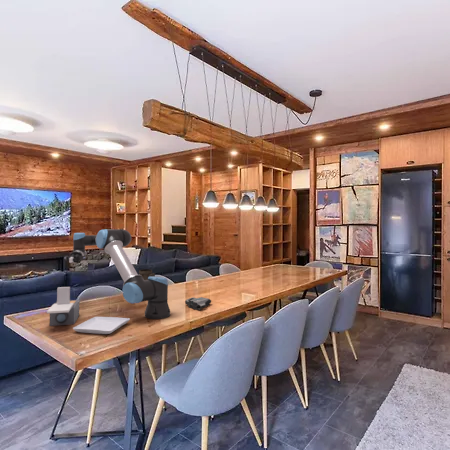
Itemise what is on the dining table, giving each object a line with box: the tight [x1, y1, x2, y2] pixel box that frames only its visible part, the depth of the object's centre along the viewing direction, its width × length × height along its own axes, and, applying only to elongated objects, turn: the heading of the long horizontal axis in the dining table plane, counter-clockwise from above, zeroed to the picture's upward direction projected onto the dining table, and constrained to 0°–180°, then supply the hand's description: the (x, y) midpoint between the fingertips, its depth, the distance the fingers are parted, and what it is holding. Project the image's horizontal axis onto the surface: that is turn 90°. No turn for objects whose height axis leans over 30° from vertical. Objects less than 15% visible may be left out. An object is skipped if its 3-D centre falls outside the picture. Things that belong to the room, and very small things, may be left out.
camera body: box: [49, 299, 80, 327], centre depth 181 cm, size 20×12×9 cm, turn 16°
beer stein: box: [138, 268, 156, 280], centre depth 245 cm, size 15×11×20 cm
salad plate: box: [72, 316, 131, 335], centre depth 169 cm, size 21×21×3 cm
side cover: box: [46, 286, 74, 314], centre depth 171 cm, size 16×10×10 cm, turn 16°
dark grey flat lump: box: [184, 296, 212, 311], centre depth 216 cm, size 16×20×5 cm
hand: (70, 260), depth 196 cm, fingers closed
